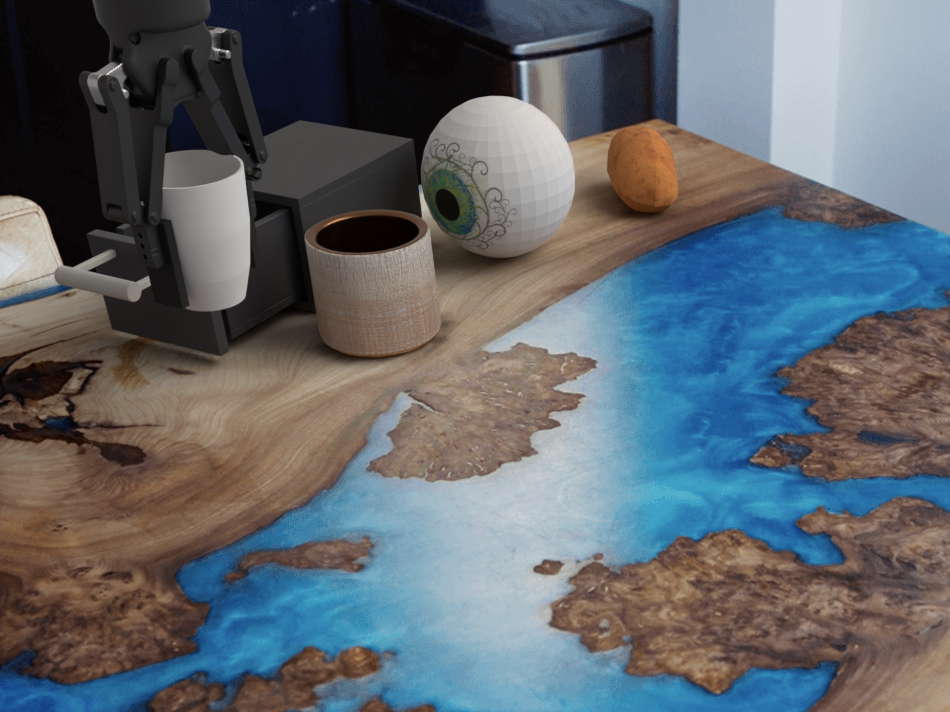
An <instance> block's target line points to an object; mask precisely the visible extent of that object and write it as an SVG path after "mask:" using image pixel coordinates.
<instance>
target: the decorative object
mask: <svg viewBox="0 0 950 712" xmlns="http://www.w3.org/2000/svg"><path fill="white" fill-rule="evenodd" d="M570 149H571V148H570V146H569V144H568V142H567V140H566V138H565V136H564V135H563V133H562V132H561V130H560V129H559V127H558V126H557V125H556V124H555V122H554V121H553V120H552V119H551V118H550V117H549V116H548V115H547V114H545V113H544V112H543V111H541V110H540V109H538V108H537V107H536V106H535V105H533V104H531V103H528V102H526V101H523V100H521V99H518V98H516V97H513V96H512V97H511V96H505V95H487V96H480V97H476V98H475V97H474V98H472V99H469V100H467V101H465V102H462V103H461V104H459V105H458V106H457V105H456V107H454V108H453V109H451V110H450V111H449V112H447V114H446V115H444V116H443V117H442V118H441V119H440V120H439V122H438V123H437V125H436V126H435V128H434V129H433V130H432V132H431V133H430V134H429V137H428V139H427V142H426V144H425V147H424V149H423V155H422V159H421V165H420V184H421V190H422V194H423V198H424V201H425V203H426V206H427V208H428V210H429V213H430V215H431V217H432V220H433V221H434V222H435V223H436V224H437V226H438V227H439V229H440V230H441V231H442V232H443V233H444V234H445V235H446V236H447V237H448V238H449V239H450V240H451V241H453V242H454V243H455V244H457V245H458V246H460V247H461V248H463V249H465V250H466V251H468V252H470V253H473V254H476V255H480V256H483V257H487V258H492V259H493V258H494V259H507V258H515V257H519V256H523V255H525V254H527V253H530V252H533V251H535V250H537V249H538V248H540V247H542V245H544V244H545V243H547V242H548V241H549V240H550V239H552V238H553V236H554V235H555V234H556V233H557V232H558V230H559V229H560V228H561V227H562V225H563V224H564V223H565V220H566V218H567V216H568V214H569V212H570V210H571V207H572V204H573V200H574V196H575V188H576V172H575V164H574V158H573V154H572V152H571V150H570Z"/></svg>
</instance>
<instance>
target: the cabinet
mask: <svg viewBox="0 0 950 712" xmlns="http://www.w3.org/2000/svg"><path fill="white" fill-rule="evenodd" d="M263 138H264V141H265V145H266V149H267V152H268V159H267V161H266V163H264V164H260V163H259V164H258V165H257V166H256V167H258V168H261V169H262V177H261V179H260V180H259V181H257V182H256V181H251V183H252V188H253V194H254V199H255V200H258V201H263V202H268V203H273V204H278V205H284V206H289V207H292V211H293V217H294V223H295V229H296V234H297V240H298V246H299V252H300V258H301V263H302V269H303V275H304V281H305V286H306V292H307V295H306V296H304V297H302V298H301V299H299V300H297V301H296V302H294V303H292V304H291V305H289V306H288V307H290V308H294V309H297V310H303V311H307V312H311V313H315V314H316V308H315V302H314V295H313V288H312V282H311V275H310V269H309V263H308V257H307V251H306V245H305V234H306V232H307V231H308V230H309V229H310V228H311V227H312V226H313V225H315V224H316V223H318V222H320V221H322V220H324V219H326V218H329V217H332V216H335V215H339V214H343V213H347V212H353V211H360V210H375V209H382V210H396V211H402V212H407V213H411V214H414V215H416V216H418V217H420V218H422V219H423V212H422V203H421V195H420V187H419V178H418V177H419V176H418V170H417V169H418V168H417V160H416V151H415V143H414V138H409V137H402V136H397V135H390V134H384V133H380V132H373V131H368V130H361V129H355V128H349V127H344V126H336V125H331V124H326V123H319V122H314V121H313V122H312V121H307V120H300V119H299V120H298V121H295V122H293V123H291V124H289V125H287V126H284V127H282V128H279V129H277V130H276V131H273V132H271V133H269V134H267V135H263ZM246 144H247V145H249V143H246Z"/></svg>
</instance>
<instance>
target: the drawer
mask: <svg viewBox="0 0 950 712" xmlns="http://www.w3.org/2000/svg"><path fill="white" fill-rule="evenodd" d="M255 205H256V218H254V222H255V228H256V233H257V239H258V244H259V250H260V255H261V261H262V266H260V267H258V268H251V267H250V269H249V276H248V283H247V290H246V296H245V298H244V300H243V301H241V302H240V303H239V304H237V305H235V306H232V307H230V308H226V309H222V310H217V311H194V310H189V309H186V308H184V309H179V308H176V307H172V306H168V305H164V304H160V303H156V302H155V301H154V296H153V292H152V288H151V284H150V279H149V275H148V271H147V266H143V265H142V264H141V262H140V261H139V258H138V252H137V249H136V245H135V241H134V236H133V232H132V228H131V226H130V224H126V223H122V224H120V225H119V226H117V227H116V228H115V230H116V233H114V232H111V231H106V230H101V229H94V230H92V231H90V232H88V233H86V238H87V241H88V245H89V249H90V253H91V256H92V257H91V258H89V259H87V260H85V261H83V262H81V263H78V264H77V265H75V266H73V267H72V266H69V265H63V264H61V265H59V266H57V267H56V268H55V270H54V274H53V275H54V276H53V277H54V280H55V282H56V283H57V284H58V285H60V286H64V287H69V288H72V289H77V290H81V291H85V292H90V293H94V294H97V295H101V296H102V299H103V301H104V305H105V308H106V313H107V316H108V321H109V324H110V327H111V330H113V331H117V332H122V333H125V334H128V335H133V336H137V337H140V338H145V339H149V340H152V341H157V342H161V343H165V344H169V345H172V346H177V347H181V348H185V349H189V350H193V351H197V352H201V353H205V354H208V355H213V356H218V357H222V356H224V355H226V354H228V353H230V347H229V341H228V339H230V340H233V339H235V338H237V337H239V336H240V335H242V334H244V333H245V332H247V331H250V329H253V328H254V327H256V326H257V325H259V324H260V323H262V322H264V321H266V320H268V319H269V318H270V317H273V316H274V315H275V314H278V313H279V312H281V311H282V310H284V309H286V308H287V307H289V305H291V304H292V303H294V302H296V301H297V300H299V299H301V298H302V297H304V296H306V295H307V292H306V286H305V281H304V275H303V269H302V263H301V258H300V252H299V246H298V240H297V234H296V229H295V223H294V217H293V211H292V207H289V206H284V205H278V204H273V203H268V202H263V201H258V200H255ZM94 268H95V271H96V272H94V271H90V270H92V269H94Z"/></svg>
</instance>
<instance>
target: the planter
mask: <svg viewBox="0 0 950 712" xmlns="http://www.w3.org/2000/svg"><path fill="white" fill-rule="evenodd" d="M305 245H306V251H307V257H308V263H309V269H310V275H311V282H312V288H313V295H314V302H315V308H316V313H315V314H316V321H317V326H318V332H319V335H320V339H321V340H322V342H323V343H324V344H325V345H326V346H327V347H329V348H331V349H333V350H334V351H336V352H339V353H341V354H344V355H347V356H352V357H358V358H371V359H372V358H373V359H374V358H376V359H377V358H387V357H388V358H389V357H395V356H399V355H403V354H407V353H410V352H413V351H415V350H417V349H419V348H421V347H424V346H425V345H427V344H428V343H429V342H430V341H432V339H434V338H435V337H436V336H437V335H438V333H439V332H440V330H441V328H442V327H441V326H442V316H441V308H440V300H439V293H438V287H437V286H438V285H437V277H436V270H435V269H436V268H435V262H434V254H433V245H432V237H431V230H430V225H429V224H428V222H427V221H426V220H425V219H424V218H423V217H422V218H420V217H418V216H416V215H414V214H411V213H407V212H402V211H396V210H382V209H375V210H360V211H353V212H347V213H343V214H339V215H335V216H332V217H329V218H326V219H324V220H322V221H320V222H318V223H316V224H315V225H313V226H312V227H311V228H310V229H309V230H308V231H307V232H306V234H305Z"/></svg>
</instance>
